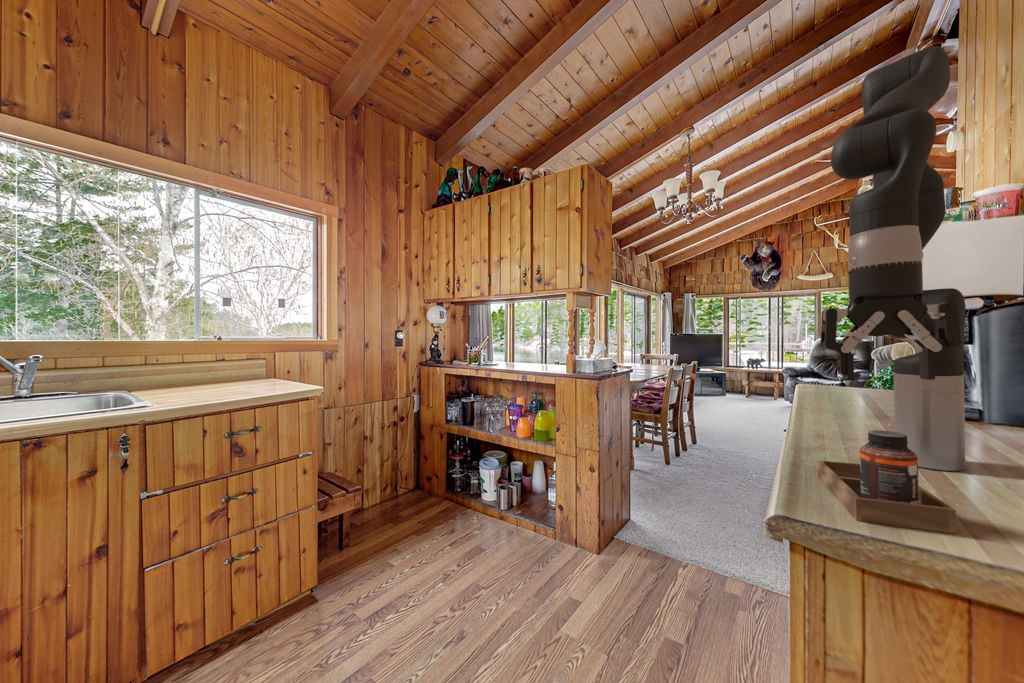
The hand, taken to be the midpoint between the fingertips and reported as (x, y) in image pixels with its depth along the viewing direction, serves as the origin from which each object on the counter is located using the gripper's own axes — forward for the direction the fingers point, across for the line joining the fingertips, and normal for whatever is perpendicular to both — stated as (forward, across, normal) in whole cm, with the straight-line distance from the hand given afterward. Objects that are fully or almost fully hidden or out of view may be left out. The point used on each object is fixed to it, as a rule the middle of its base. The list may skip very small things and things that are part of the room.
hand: (886, 379), depth 55 cm
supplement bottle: (+19, 0, 0) cm, 19 cm away
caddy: (+19, 0, -4) cm, 19 cm away
